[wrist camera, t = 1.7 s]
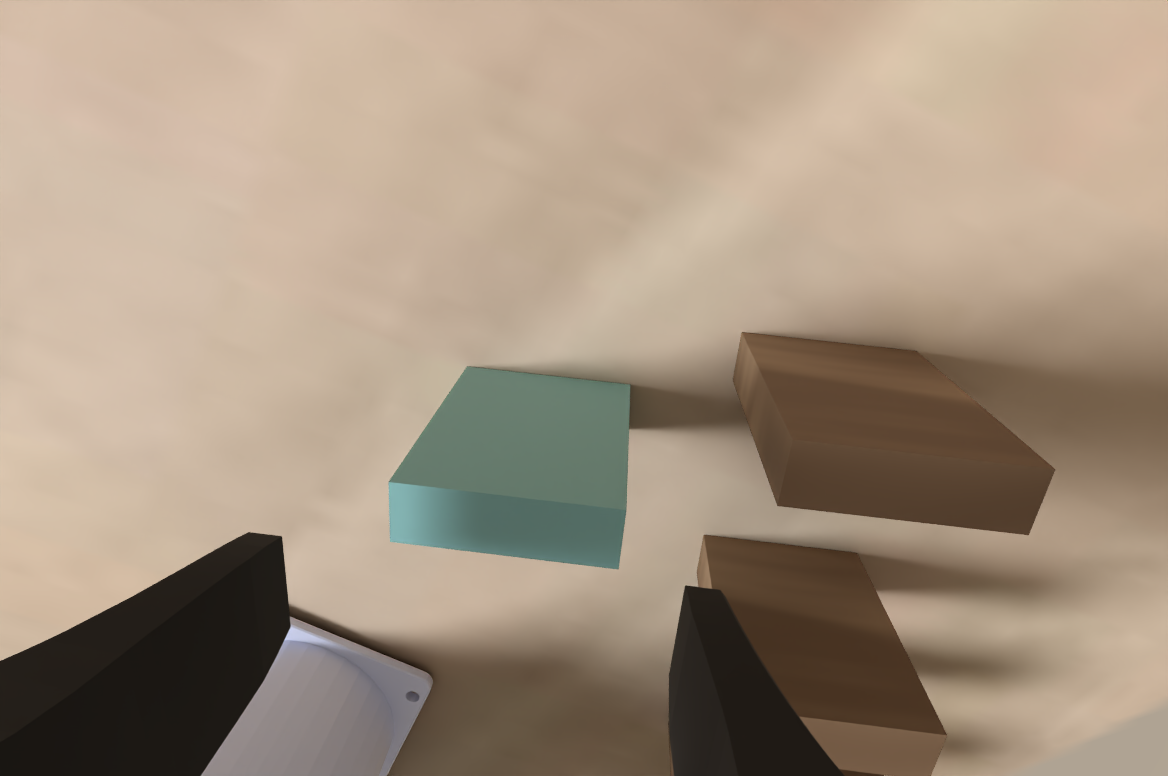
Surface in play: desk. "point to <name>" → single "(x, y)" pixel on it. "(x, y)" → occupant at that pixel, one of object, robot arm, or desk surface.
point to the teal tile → (519, 470)
